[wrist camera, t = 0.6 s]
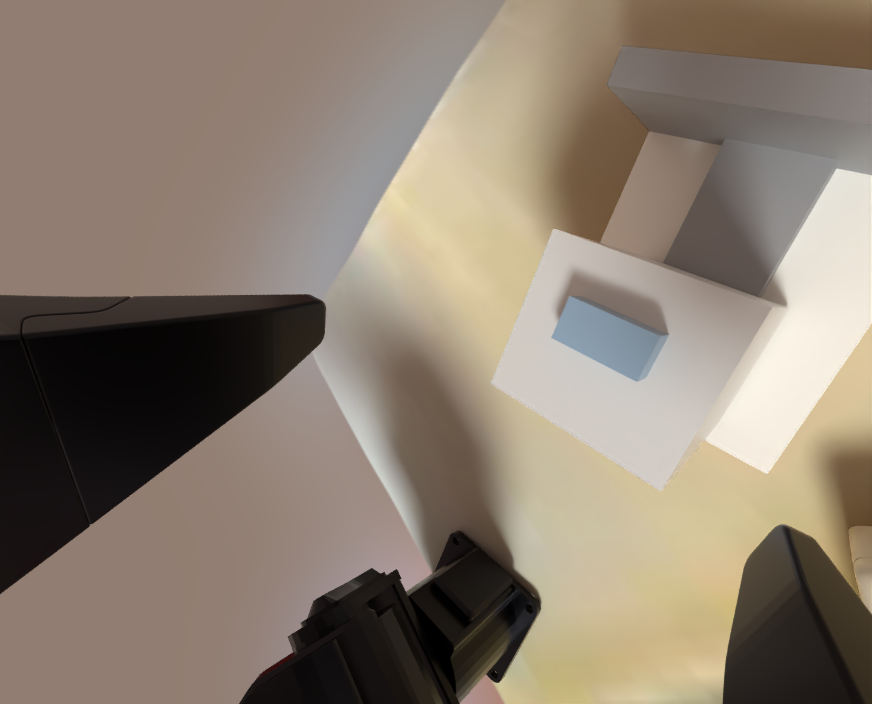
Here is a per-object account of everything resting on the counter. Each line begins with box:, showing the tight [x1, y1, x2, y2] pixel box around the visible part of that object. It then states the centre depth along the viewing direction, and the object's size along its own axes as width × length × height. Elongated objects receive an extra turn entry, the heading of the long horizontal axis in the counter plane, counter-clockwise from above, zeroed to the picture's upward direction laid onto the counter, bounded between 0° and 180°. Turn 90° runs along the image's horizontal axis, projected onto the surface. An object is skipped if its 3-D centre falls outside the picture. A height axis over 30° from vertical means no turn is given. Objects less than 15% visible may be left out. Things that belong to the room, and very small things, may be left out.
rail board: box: [600, 46, 872, 474], centre depth 17 cm, size 12×10×6 cm
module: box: [491, 228, 790, 491], centre depth 15 cm, size 5×6×10 cm
